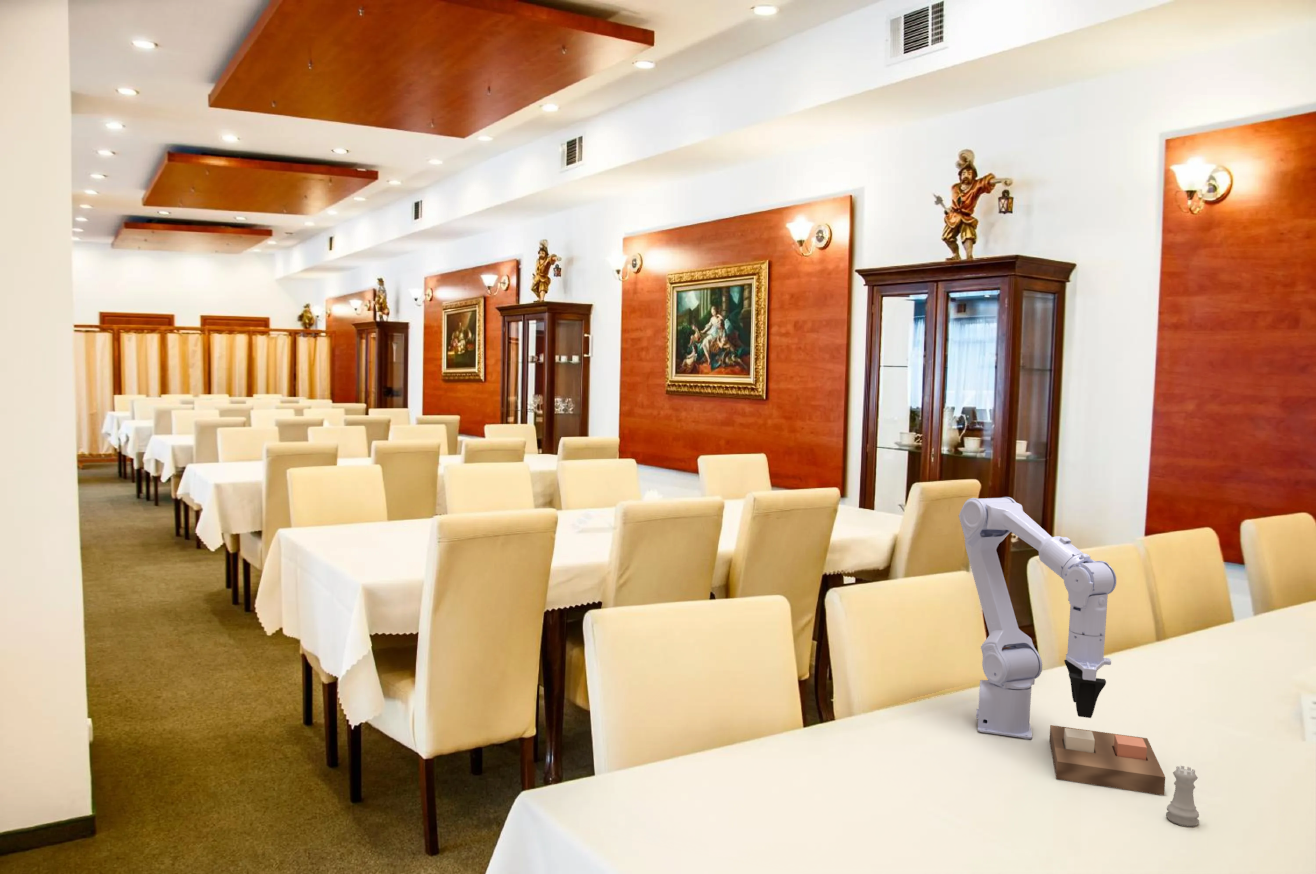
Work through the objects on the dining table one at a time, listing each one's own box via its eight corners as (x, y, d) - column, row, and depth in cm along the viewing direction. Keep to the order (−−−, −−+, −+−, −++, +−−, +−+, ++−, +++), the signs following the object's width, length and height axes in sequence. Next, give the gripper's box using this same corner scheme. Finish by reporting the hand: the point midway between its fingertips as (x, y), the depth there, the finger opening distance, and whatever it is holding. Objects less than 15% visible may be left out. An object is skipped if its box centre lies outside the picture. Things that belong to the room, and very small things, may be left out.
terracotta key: (1116, 763, 162) (1118, 743, 162) (1113, 754, 166) (1114, 734, 166) (1145, 768, 161) (1146, 747, 160) (1141, 758, 165) (1142, 738, 164)
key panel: (1056, 779, 159) (1057, 761, 159) (1049, 741, 176) (1050, 724, 176) (1164, 795, 154) (1165, 777, 153) (1146, 754, 171) (1147, 738, 170)
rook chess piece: (1195, 817, 146) (1199, 766, 146) (1201, 830, 142) (1205, 777, 141) (1163, 812, 148) (1166, 761, 147) (1168, 824, 143) (1171, 772, 143)
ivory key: (1065, 756, 165) (1066, 736, 164) (1063, 747, 169) (1064, 727, 168) (1093, 760, 163) (1094, 740, 163) (1090, 751, 167) (1091, 731, 167)
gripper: (1118, 645, 156) (1113, 726, 157) (1106, 624, 170) (1102, 699, 171) (1071, 640, 159) (1066, 720, 160) (1064, 620, 172) (1059, 694, 173)
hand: (1082, 709), depth 165 cm, fingers open, 7 cm apart
